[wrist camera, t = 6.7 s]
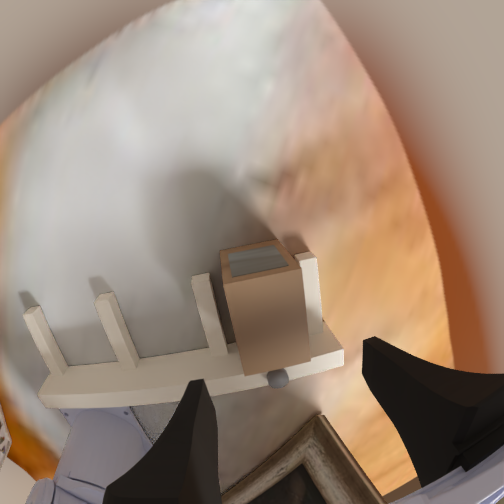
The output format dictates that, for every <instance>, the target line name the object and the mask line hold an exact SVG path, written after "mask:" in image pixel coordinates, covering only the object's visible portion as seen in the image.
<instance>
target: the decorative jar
mask: <svg viewBox="0 0 504 504" xmlns="http://www.w3.org/2000/svg"><path fill="white" fill-rule="evenodd" d="M11 444H12V439H11V436H10V434H9V431H8V428H7V425H6V421H5V417H4V414H3V410H2V407H1V403H0V469H1V467H2V465H3V463H4V460H5V458H6V456H7V453H8V451H9V449H10V446H11Z"/></svg>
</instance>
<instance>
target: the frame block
mask: <svg viewBox="0 0 504 504" xmlns="http://www.w3.org/2000/svg"><path fill="white" fill-rule="evenodd" d="M220 260H221V270H222V279H223V287H224V291H225V296H226V300H227V304H228V309H229V313H230V318H231V322H232V326H233V330H234V335H235V339H236V343H237V347H238V351H239V356H240V360H241V364H242V368H243V372H244V376H250V375H254V374H259V373H264V372H268V371H273V370H277V369H282V368H286V367H290V366H294V365H298V364H302V363H306V362H310V361H311V355H310V344H309V333H308V322H307V312H306V303H305V293H304V284H303V275H302V268H301V267H300V266H299V264H298V263H297V262H296V261H295V260H294V258H293V257H292V256H291V255H290V254H289V252H288V251H287V250H286V249H285V248H284V246H283V245H282V244H281V243H280V242H279V240H278V239H276V240H270V241H265V242H260V243H255V244H250V245H245V246H240V247H235V248H230V249H225V250H220Z"/></svg>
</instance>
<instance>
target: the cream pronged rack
mask: <svg viewBox="0 0 504 504" xmlns="http://www.w3.org/2000/svg"><path fill="white" fill-rule="evenodd" d="M294 258H295V261H296V262H297V263H298V264H299V266H300V267H301V268H302V275H303V284H304V293H305V303H306V312H307V322H308V333H309V344H310V355H311V361H310V362H306V363H302V364H298V365H294V366H290V367H286V368H282V369H277V370H273V371H268V372H264V373H259V374H254V375H250V376H244V372H243V368H242V364H241V360H240V356H239V351H238V347H237V343H236V342H235V343H230V344H227V342H226V338H225V334H224V330H223V327H222V323H221V319H220V315H219V311H218V307H217V303H216V299H215V295H214V291H213V287H212V282H211V278H210V274H209V273H204V274H199V275H194V276H192V281H191V285H192V289H193V293H194V296H195V300H196V304H197V307H198V311H199V315H200V318H201V322H202V325H203V328H204V332H205V335H206V339H207V342H208V345H209V348H203V349H198V350H192V351H186V352H180V353H174V354H168V355H161V356H155V357H148V358H139V356H138V354H137V351H136V349H135V346H134V344H133V342H132V339H131V337H130V334H129V332H128V329H127V327H126V324H125V321H124V319H123V316H122V313H121V311H120V308H119V305H118V302H117V300H116V297H115V294H114V292H109V293H104V294H100V295H99V296H98V297H97V299H96V300H95V301H94V305H95V307H96V310H97V312H98V315H99V317H100V320H101V322H102V325H103V327H104V330H105V332H106V334H107V337H108V339H109V341H110V344H111V346H112V348H113V351H114V353H115V355H116V357H117V359H118V361H117V362H108V363H98V364H88V365H77V366H68V365H67V363H66V361H65V359H64V357H63V355H62V353H61V351H60V349H59V347H58V345H57V343H56V341H55V339H54V337H53V335H52V332H51V330H50V328H49V326H48V323H47V321H46V319H45V317H44V314H43V312H42V309H41V307H40V306H36V307H30V308H29V309H28V310H27V311H26V312H25V313H24V314H23V315H22V316H23V318H24V320H25V322H26V325H27V327H28V329H29V331H30V333H31V336H32V338H33V340H34V342H35V344H36V346H37V348H38V350H39V352H40V354H41V356H42V358H43V359H44V361H45V363H46V365H47V367H48V369H49V370H50V374H49V375H48V377H47V379H46V380H45V382H44V384H43V385H42V387H41V389H40V390H39V392H38V394H37V396H38V397H39V399H40V400H41V402H42V403H43V405H44V406H45V408H108V407H125V406H138V405H149V404H159V403H168V402H176V401H181V399H182V397H183V394H184V392H185V390H186V387H187V385H188V383H189V381H191V380H197V379H204V381H205V384H206V386H207V389H208V392H209V395H210V397H211V396H217V395H223V394H228V393H234V392H239V391H244V390H249V389H254V388H258V387H263V386H268V385H269V386H270V387H272V388H282V387H284V386H285V385H286V384H287V383H288V382H289V380H293V379H297V378H301V377H304V376H308V375H312V374H315V373H319V372H323V371H326V370H330V369H333V368H336V367H340V366H343V365H344V349H343V347H342V346H341V344H340V343H339V341H338V340H337V339H336V337H335V336H334V334H333V333H332V331H331V330H330V328H329V327H328V325H327V324H326V323H325V322H323V321H322V308H321V297H320V286H319V276H318V266H317V257H316V256H315V255H314V254H313V253H312V252H310V251H309V252H305V253H300V254H295V255H294Z"/></svg>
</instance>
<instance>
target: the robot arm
mask: <svg viewBox="0 0 504 504" xmlns="http://www.w3.org/2000/svg"><path fill="white" fill-rule="evenodd" d="M362 375H363V377H364V379H365V381H366V383H367V385H368V387H369V389H370V391H371V392H372V394H373V395H374V396H375V398H376V399H377V401H378V402H379V404H380V405H381V407H382V408H383V409H384V411H385V412H386V414H387V415H388V417H389V418H390V420H391V421H392V422H393V424H394V426H395V427H396V429H397V431H398V433H399V435H400V437H401V439H402V441H403V443H404V445H405V447H406V449H407V451H408V454H409V456H410V458H411V460H412V463H413V465H414V468H415V470H416V473H417V475H418V478H419V481H420V484H421V487H422V488H421V489H419V490H417V491H415V492H413V493H412V494H409V495H407V496H405V497H403V498H401V499H399V500H396V501H394V502H392V503H390V504H495V503H496V502H498V501H499V500H500V499H501V498H502V497H504V374H481V373H471V372H464V371H459V370H454V369H450V368H446V367H443V366H439V365H436V364H433V363H430V362H428V361H425V360H423V359H420V358H418V357H415V356H413V355H411V354H409V353H407V352H405V351H403V350H401V349H399V348H397V347H395V346H393V345H391V344H389V343H387V342H385V341H383V340H381V339H379V338H377V337H375V336H374V337H371V338H368V339H365V340H363V361H362ZM60 411H61V413H62V414H63V415H64V417H65V418H66V420H67V421H68V423H69V424H70V425H71V427H72V429H71V431H70V434H69V436H68V439H67V442H66V444H65V447H64V450H63V452H62V455H61V458H60V461H59V464H58V466H57V469H56V472H55V475H54V478H53V480H51V479H49V478H44V479H40V480H38V481H37V482H36V483H35V484H34V486H33V488H32V490H31V492H30V494H29V496H28V498H27V501H26V503H25V504H222V500H221V493H220V486H219V479H218V428H217V420H216V413H215V408H214V406H213V403H212V400H211V397H210V395H209V392H208V389H207V386H206V384H205V381H204V379H197V380H191V381H189V383H188V385H187V387H186V390H185V392H184V394H183V397H182V399H181V401H180V403H179V405H178V407H177V409H176V411H175V413H174V415H173V416H172V418H171V420H170V421H169V423H168V425H167V426H166V428H165V430H164V431H163V433H162V434H161V436H160V437H159V438H158V440H157V441H156V442H155V444H154V445H152V443H151V442H150V440H149V438H148V437H147V435H146V434H145V432H144V431H143V429H142V427H141V426H140V424H139V422H138V421H137V419H136V417H135V416H134V414H133V412H132V411H131V409H130V407H129V406H125V407H108V408H60ZM125 411H126V412H125Z"/></svg>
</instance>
